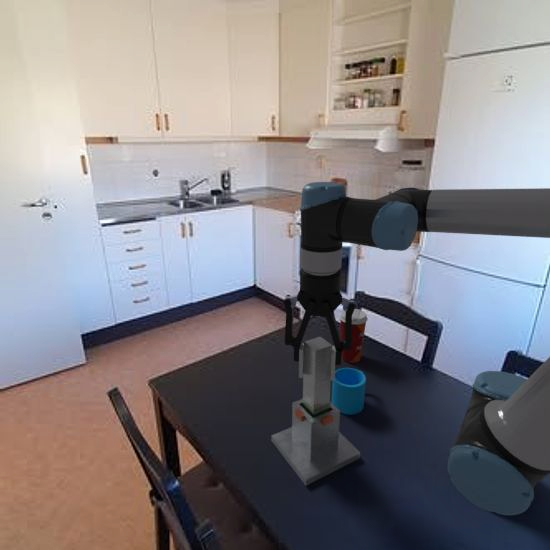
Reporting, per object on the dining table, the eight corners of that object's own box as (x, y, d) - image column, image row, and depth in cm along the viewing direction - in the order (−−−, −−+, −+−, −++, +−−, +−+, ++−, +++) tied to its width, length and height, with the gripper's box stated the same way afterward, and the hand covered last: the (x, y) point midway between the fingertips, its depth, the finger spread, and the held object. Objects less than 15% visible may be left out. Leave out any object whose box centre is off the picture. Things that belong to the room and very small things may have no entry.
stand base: (360, 458, 86) (363, 414, 82) (305, 485, 80) (306, 439, 75) (321, 419, 97) (323, 378, 93) (271, 440, 91) (270, 398, 87)
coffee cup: (366, 364, 119) (370, 319, 114) (339, 364, 119) (341, 319, 114) (361, 350, 127) (364, 307, 122) (335, 350, 127) (337, 307, 122)
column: (329, 423, 85) (333, 345, 78) (312, 430, 83) (315, 351, 76) (317, 411, 88) (320, 336, 82) (301, 418, 86) (302, 341, 80)
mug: (353, 419, 97) (355, 391, 94) (325, 405, 102) (326, 378, 100) (376, 395, 106) (379, 369, 103) (350, 383, 111) (351, 358, 108)
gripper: (371, 264, 75) (363, 369, 84) (274, 259, 78) (275, 361, 87) (373, 278, 68) (364, 391, 77) (266, 273, 72) (268, 381, 80)
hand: (316, 375), depth 82 cm, fingers closed on column, 6 cm apart
